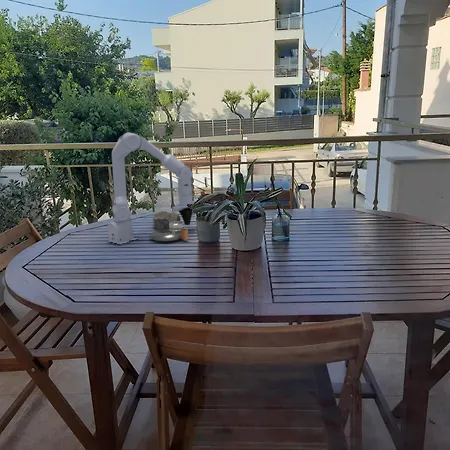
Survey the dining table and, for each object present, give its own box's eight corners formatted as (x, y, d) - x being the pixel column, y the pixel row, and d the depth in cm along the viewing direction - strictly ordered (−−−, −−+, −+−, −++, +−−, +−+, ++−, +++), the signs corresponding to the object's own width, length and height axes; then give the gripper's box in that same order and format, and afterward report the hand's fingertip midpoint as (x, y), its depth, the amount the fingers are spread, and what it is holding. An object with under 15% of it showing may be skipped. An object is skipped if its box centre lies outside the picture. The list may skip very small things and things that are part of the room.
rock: (176, 231, 177) (182, 222, 192) (176, 217, 176) (182, 209, 190) (148, 230, 178) (157, 222, 193) (147, 216, 177) (156, 209, 191)
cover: (176, 232, 165) (175, 225, 165) (165, 230, 169) (165, 223, 168) (186, 229, 170) (186, 222, 169) (176, 226, 174) (175, 220, 173)
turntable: (173, 244, 155) (172, 234, 154) (143, 237, 165) (142, 228, 164) (199, 234, 166) (198, 225, 165) (169, 228, 177) (168, 219, 176)
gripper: (180, 198, 163) (182, 230, 167) (203, 191, 174) (204, 221, 178) (168, 196, 167) (170, 227, 171) (191, 190, 178) (193, 219, 182)
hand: (187, 224), depth 175 cm, fingers closed
